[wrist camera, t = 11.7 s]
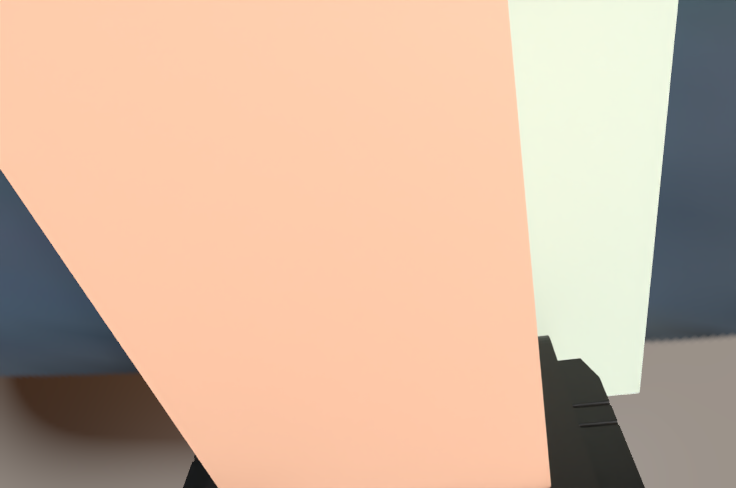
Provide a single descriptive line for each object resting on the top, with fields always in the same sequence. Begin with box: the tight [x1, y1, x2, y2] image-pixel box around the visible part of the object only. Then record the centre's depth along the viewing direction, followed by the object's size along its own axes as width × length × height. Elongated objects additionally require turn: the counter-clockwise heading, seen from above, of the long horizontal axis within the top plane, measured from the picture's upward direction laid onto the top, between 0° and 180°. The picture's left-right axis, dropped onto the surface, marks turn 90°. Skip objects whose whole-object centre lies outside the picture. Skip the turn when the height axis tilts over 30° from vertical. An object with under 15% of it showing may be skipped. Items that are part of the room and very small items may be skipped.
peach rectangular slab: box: [0, 0, 551, 488], centre depth 8 cm, size 13×5×4 cm, turn 14°
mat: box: [508, 0, 678, 396], centre depth 11 cm, size 16×12×1 cm
